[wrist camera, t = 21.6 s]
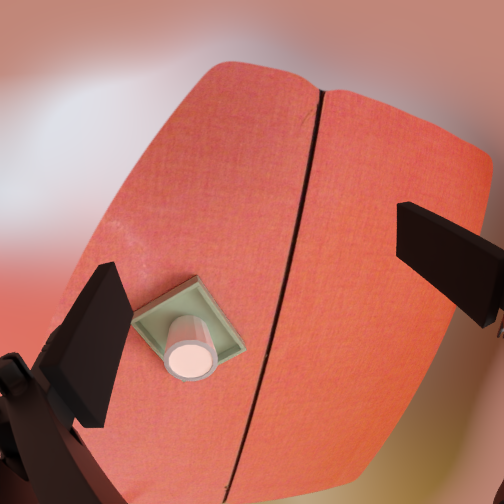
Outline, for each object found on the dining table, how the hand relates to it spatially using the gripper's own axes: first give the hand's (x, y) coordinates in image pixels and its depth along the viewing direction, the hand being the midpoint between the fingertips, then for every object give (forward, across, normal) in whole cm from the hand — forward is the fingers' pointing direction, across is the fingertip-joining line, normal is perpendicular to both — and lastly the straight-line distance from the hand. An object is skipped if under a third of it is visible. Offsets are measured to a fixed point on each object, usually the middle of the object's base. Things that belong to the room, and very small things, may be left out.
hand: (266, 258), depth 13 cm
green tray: (+24, -10, -20) cm, 33 cm away
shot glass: (+24, -10, -20) cm, 33 cm away
